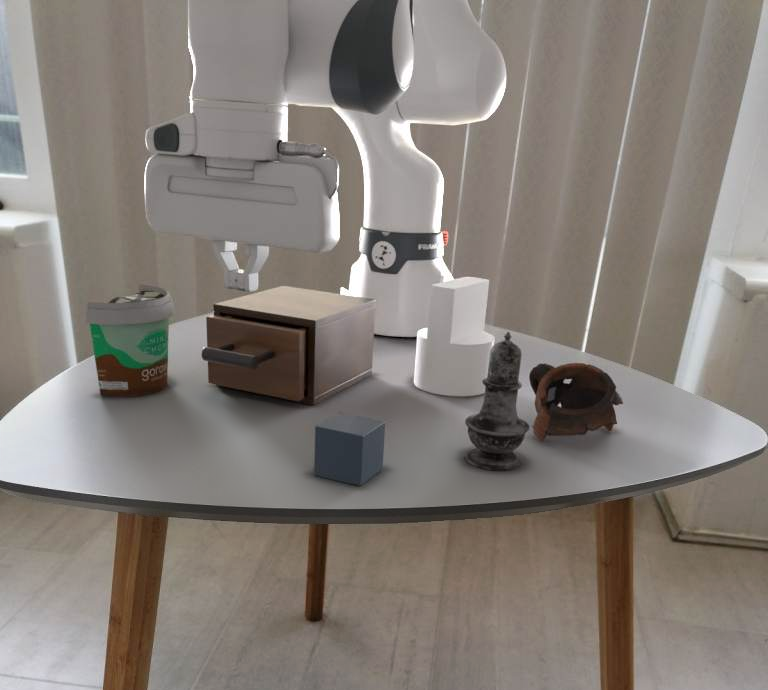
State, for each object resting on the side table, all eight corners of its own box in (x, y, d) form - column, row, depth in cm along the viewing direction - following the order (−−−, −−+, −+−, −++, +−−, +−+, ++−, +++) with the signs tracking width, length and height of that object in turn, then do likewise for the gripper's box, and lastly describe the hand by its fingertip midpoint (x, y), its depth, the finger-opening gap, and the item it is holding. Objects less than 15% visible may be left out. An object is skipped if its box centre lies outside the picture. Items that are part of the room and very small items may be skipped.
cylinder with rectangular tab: (467, 401, 94) (478, 293, 89) (399, 385, 98) (406, 281, 93) (501, 384, 101) (514, 283, 96) (437, 370, 105) (445, 272, 100)
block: (337, 459, 76) (339, 411, 74) (382, 469, 74) (385, 421, 72) (313, 475, 72) (314, 426, 70) (360, 486, 70) (362, 436, 68)
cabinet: (313, 405, 89) (315, 320, 86) (215, 385, 94) (213, 303, 90) (372, 374, 102) (375, 299, 98) (282, 358, 106) (283, 285, 102)
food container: (148, 406, 86) (141, 308, 82) (93, 399, 87) (84, 302, 83) (196, 375, 97) (192, 287, 93) (146, 369, 98) (141, 282, 94)
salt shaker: (520, 450, 80) (537, 326, 75) (528, 474, 75) (546, 341, 70) (460, 446, 80) (472, 322, 75) (462, 469, 75) (476, 337, 70)
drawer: (274, 413, 83) (275, 341, 80) (181, 393, 88) (178, 324, 84) (355, 372, 99) (358, 310, 96) (273, 357, 103) (273, 297, 100)
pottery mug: (639, 442, 86) (645, 385, 80) (570, 491, 84) (570, 437, 77) (559, 383, 93) (558, 326, 86) (493, 428, 91) (487, 373, 84)
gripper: (354, 146, 76) (348, 298, 82) (172, 132, 84) (178, 273, 89) (322, 144, 71) (317, 308, 77) (130, 130, 78) (139, 280, 84)
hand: (241, 289), depth 83 cm, fingers closed
